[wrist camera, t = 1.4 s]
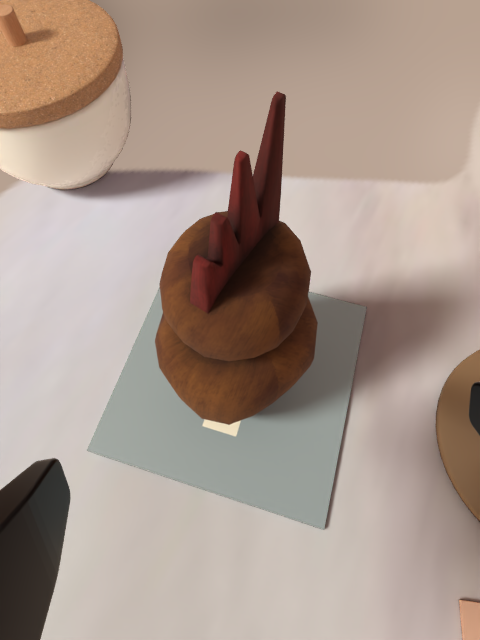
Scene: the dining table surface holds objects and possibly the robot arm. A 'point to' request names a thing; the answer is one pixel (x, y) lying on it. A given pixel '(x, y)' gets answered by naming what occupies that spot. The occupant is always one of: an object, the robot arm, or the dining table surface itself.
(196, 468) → the tile
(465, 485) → the coaster
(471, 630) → the tile
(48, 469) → the robot arm
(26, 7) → the lidded jar
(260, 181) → the wooden figurine
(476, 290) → the dining table surface
